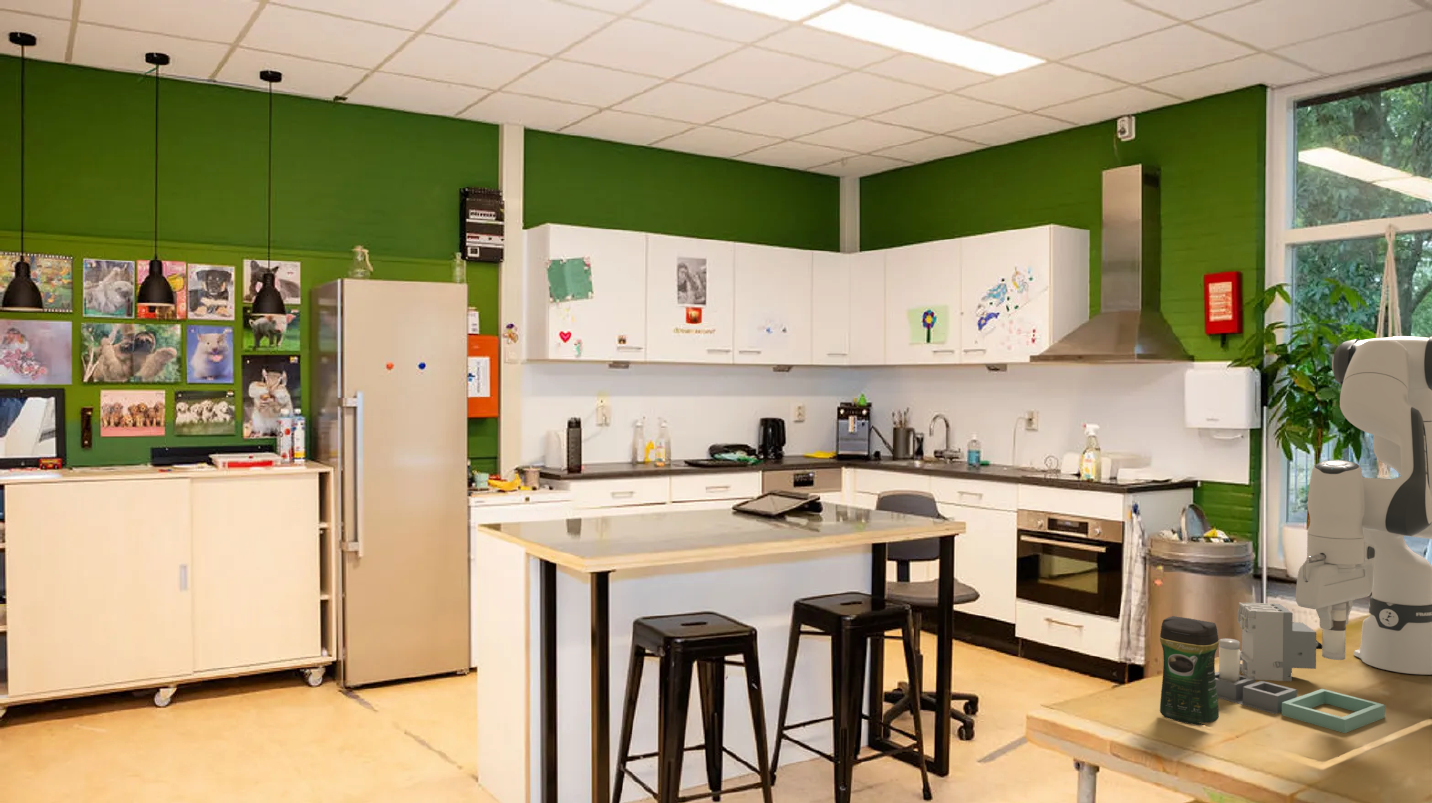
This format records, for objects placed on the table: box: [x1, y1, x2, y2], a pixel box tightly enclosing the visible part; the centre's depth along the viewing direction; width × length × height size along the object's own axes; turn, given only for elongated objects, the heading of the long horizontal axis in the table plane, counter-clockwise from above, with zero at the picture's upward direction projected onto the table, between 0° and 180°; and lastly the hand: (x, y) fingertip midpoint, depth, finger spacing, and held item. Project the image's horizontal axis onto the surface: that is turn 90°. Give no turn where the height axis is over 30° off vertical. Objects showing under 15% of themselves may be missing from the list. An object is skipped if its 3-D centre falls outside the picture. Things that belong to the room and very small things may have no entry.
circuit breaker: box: [1237, 602, 1322, 682], centre depth 211 cm, size 8×14×15 cm, turn 78°
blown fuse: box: [1321, 602, 1347, 661], centre depth 186 cm, size 4×4×10 cm
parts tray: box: [1281, 688, 1386, 734], centre depth 187 cm, size 14×11×3 cm
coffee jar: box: [1159, 615, 1220, 726], centre depth 189 cm, size 10×8×19 cm
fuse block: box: [1215, 671, 1298, 715], centre depth 197 cm, size 9×15×4 cm, turn 32°
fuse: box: [1218, 638, 1241, 683], centre depth 200 cm, size 4×4×10 cm
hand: (1334, 626), depth 186 cm, fingers closed on blown fuse, 4 cm apart
